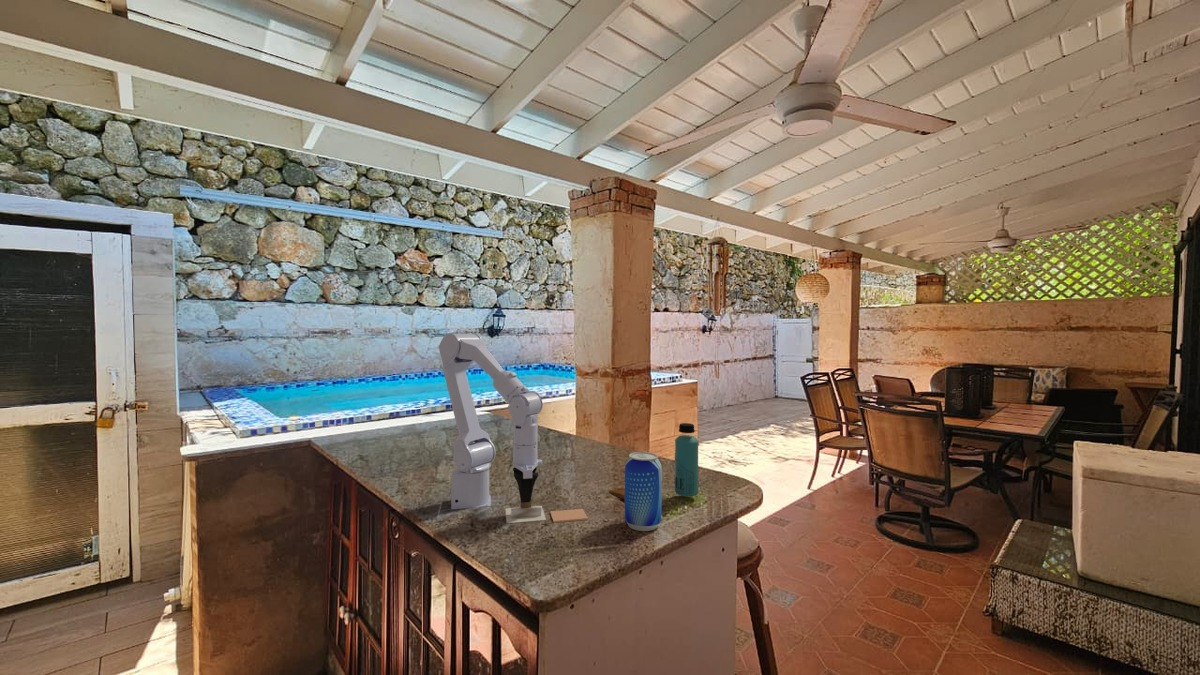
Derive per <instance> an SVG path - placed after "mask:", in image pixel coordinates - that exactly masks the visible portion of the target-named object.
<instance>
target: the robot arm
mask: <svg viewBox="0 0 1200 675" xmlns="http://www.w3.org/2000/svg"><path fill="white" fill-rule="evenodd" d="M438 350H439V355H440V358H441V363H442V371H443V376H444V380H445V384H446V388H447V391H448V394H449V395H448V396H449V400H450V403H451V408H452V410H453V416H454V419H455V423H456V427H457V431H458V436H457V437H456V439H455V440H454V441H453V443H452V450H453V463H454V466H455V467H456V469H454V470H452V471H451V492H450V500H451V505H450V506H451V507H450V509H451V510H458V509H459V510H460V509H461V510H462V509H472V508H474V509H475V508H485V507H491V506H492V503H491V502H492V499H491V498H492V495H491V494H490V467H492V462H494V460H495V458H496V456H497V453H496V452H497V450H496V447H495V445H494V443H493V441H492V440H491V438H490V434H489V433H488V432H487V431H485V430H483V429H482V428H481V426H480V422H479V416H478V414H477V410H476V406H475V402H474V399H473V396H472V391H471V387H470V383H469V380H468V376H467V369H468V367H470V366H471V365H472V364H473V363H474V362H475V363H476V364H477V365H478V366H479V367H480V368H481V369H482V370H483V371H484V372H485V373H486V374H487V375H488V376H489V377H490V379H492V380H493V381H492V386H493V388H494V389H495V391H496V392H497V393H498V394H499V395H500V396H501V398H503V400H504V401H505V403H507V404H508V405H507V408H508V412H509V415H510V416H511V423H512V425H513V445H512V446H513V452H512V453H513V456H512V458H513V459H512V460H513V461H512V466H513V468H512V470H513V477H514V479H515V481H516V483H517V485H518V493H519V499H521V502H522V503H524V502H530V501H531V502H532V496H533V490H534V486H535V484H536V481H537V479H538V477H539V472H537V467H538V465H543V460H542V459H541V458H540V459H538V447H539V446H538V445H539V444H538V441H539V440H538V438H539V437H538V436H539V435H538V434H539V433H538V428H539V426H538V425H539V424H538V423H539V420H538V418H539V417H538V415H539V414H540V413H541V412H542V409H543V407H544V406H543V405H544V404H543V403H544V402H543V399H542V397H541V396H540V394H539V393H538V392H537V391H534V390H533V391H532V390H531V389H529V387H528V386H525V385H524V383H522V381H521V380H520V379H519V378H518V377H517V375H518V374H517V373H516V372H514V371H511V370H504V368H503V367H502V366H501V365H500V363H499V362H498V361H497V360H496V358H495V357H494V356H493V354H492V353H491V352H490V350H489V349H488V348H487V343H486V341H485V340H484V339H483V338H482V337H481V335H480V334H478V333H476V332H474V333H451V332H449V333H446V334H444V335H443V336H442V339H441V341H440V343H439V345H438Z"/></svg>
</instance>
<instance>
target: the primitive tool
mask: <svg viewBox="0 0 1200 675" xmlns="http://www.w3.org/2000/svg"><path fill="white" fill-rule="evenodd" d="M608 493H610V494H612V495H613V496H615V495H616V497H617V496H618V497H617V498H619V497H620V498H619V499H621V500H622V501H625V487H619V488H616V489H610V490H608Z"/></svg>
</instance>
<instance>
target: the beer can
mask: <svg viewBox="0 0 1200 675" xmlns="http://www.w3.org/2000/svg"><path fill="white" fill-rule="evenodd" d="M658 458H659V457H658V455H657V454H656V453H653V452H650V451H649V452H647V451H635V452H631V453H630V454H628V459H627V460H626V462H625V464H624V488H625V500H624V521H625V522H626V523H627V527H628V528H630V529H632V530H634V531H640V532H651V531H654V530H656V529H657V528H658V527H659V525H660V524H661V522H662V489H663V488H662V487H663V486H662V483H663V482H662V480H663V479H662V476H663V474H662V472H663V468H662V464H661V462H660V460H659V459H658Z"/></svg>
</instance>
